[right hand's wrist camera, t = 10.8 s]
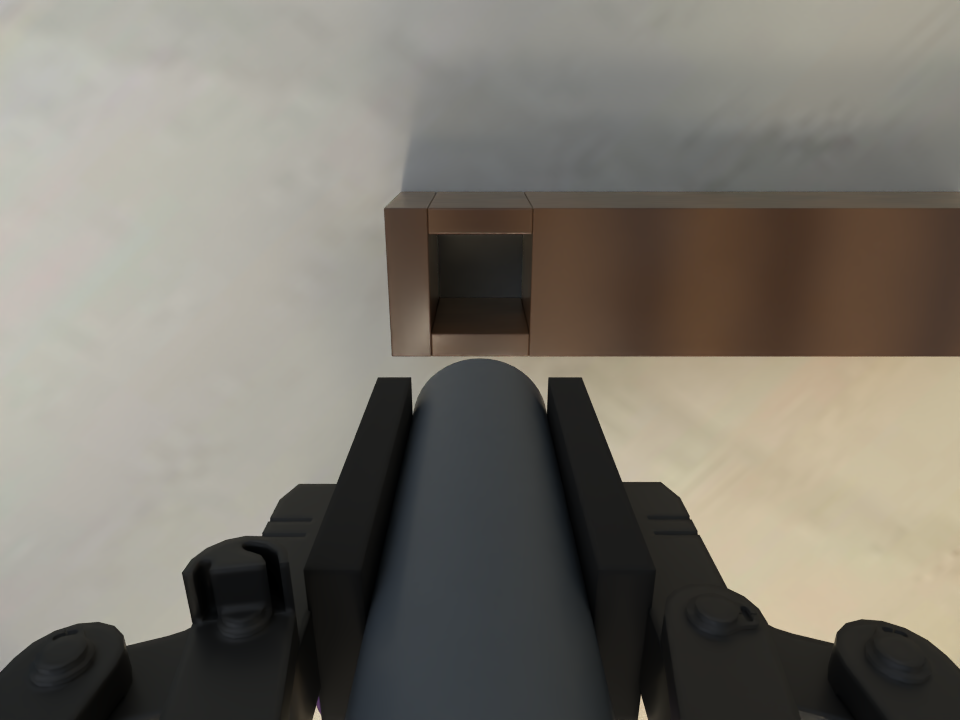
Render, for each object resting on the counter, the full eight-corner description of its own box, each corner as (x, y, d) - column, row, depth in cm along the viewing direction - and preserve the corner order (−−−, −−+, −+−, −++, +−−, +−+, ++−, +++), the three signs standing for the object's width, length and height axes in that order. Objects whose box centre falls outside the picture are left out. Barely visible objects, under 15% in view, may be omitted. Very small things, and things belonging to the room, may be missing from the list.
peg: (543, 476, 16) (695, 1344, 5) (416, 476, 16) (261, 1344, 5) (548, 357, 15) (766, 1128, 4) (411, 357, 15) (189, 1130, 4)
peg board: (957, 191, 32) (1059, 208, 26) (924, 317, 34) (1011, 356, 29) (400, 191, 32) (383, 207, 26) (406, 317, 34) (391, 356, 29)
